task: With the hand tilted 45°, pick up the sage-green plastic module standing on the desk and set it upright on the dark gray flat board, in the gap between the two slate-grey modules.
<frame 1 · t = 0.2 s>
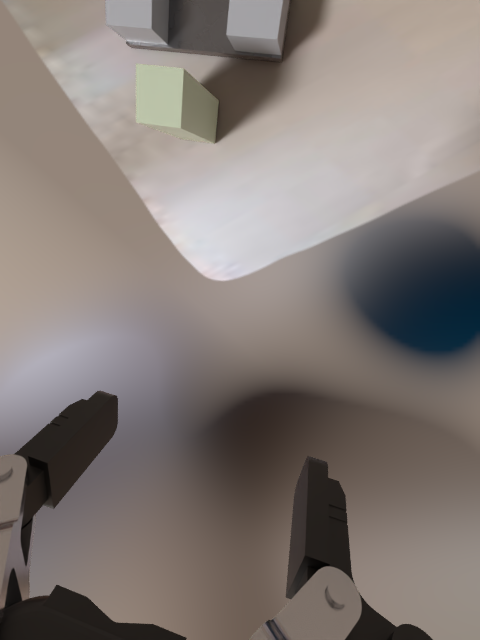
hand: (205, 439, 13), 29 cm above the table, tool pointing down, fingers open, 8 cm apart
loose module: (199, 120, 34), on the table
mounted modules: (197, 5, 29), on the dark gray flat board, point 3 cm above the table
dark gray flat board: (206, 19, 31), on the table
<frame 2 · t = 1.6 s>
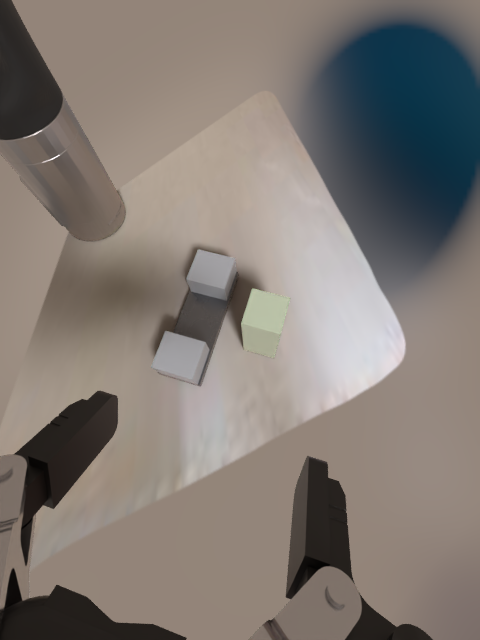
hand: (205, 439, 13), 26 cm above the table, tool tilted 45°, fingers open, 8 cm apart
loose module: (263, 339, 41), on the table
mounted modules: (197, 314, 39), on the dark gray flat board, point 3 cm above the table
dark gray flat board: (201, 322, 42), on the table
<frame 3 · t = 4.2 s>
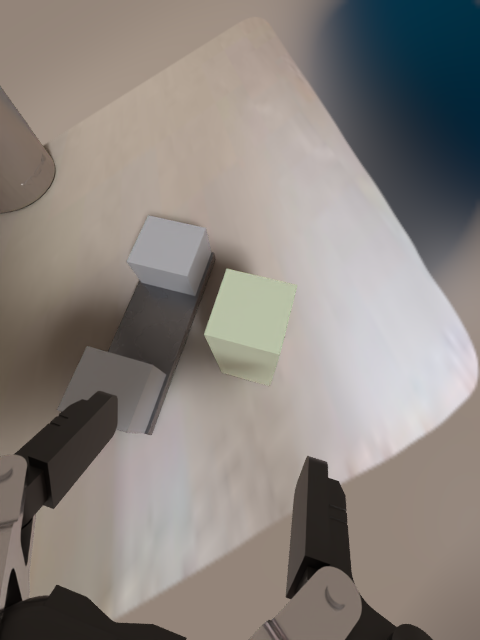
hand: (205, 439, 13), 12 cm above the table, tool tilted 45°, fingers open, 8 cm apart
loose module: (252, 355, 26), on the table
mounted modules: (146, 318, 25), on the dark gray flat board, point 3 cm above the table
dark gray flat board: (156, 329, 27), on the table
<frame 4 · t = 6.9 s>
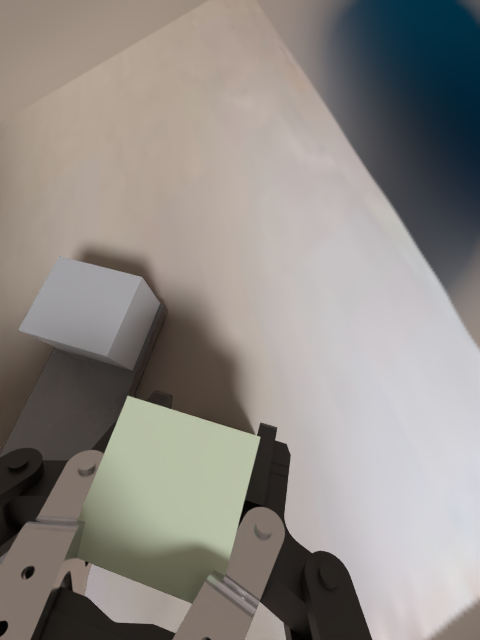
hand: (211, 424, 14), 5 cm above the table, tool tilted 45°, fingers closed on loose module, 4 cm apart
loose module: (212, 463, 18), on the table, touching gripper
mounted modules: (49, 415, 16), on the dark gray flat board, point 3 cm above the table
dark gray flat board: (77, 419, 19), on the table
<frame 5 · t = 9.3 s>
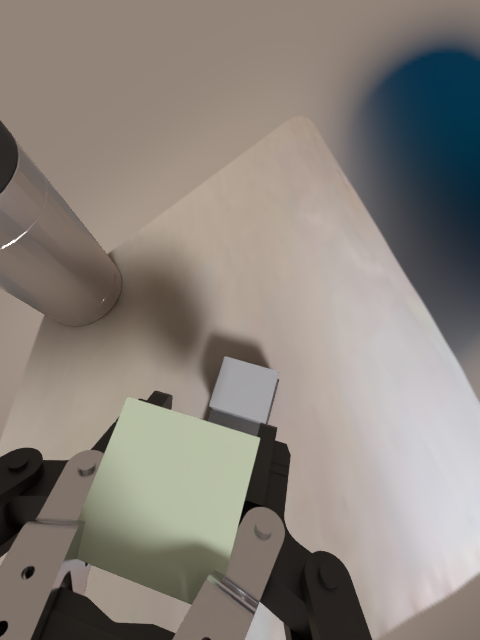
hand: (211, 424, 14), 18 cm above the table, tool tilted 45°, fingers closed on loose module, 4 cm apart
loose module: (212, 464, 18), point 13 cm above the table, touching gripper
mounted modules: (225, 456, 27), on the dark gray flat board, point 3 cm above the table
dark gray flat board: (228, 455, 30), on the table
when the fingers open (7 cm above the table, at t = 12.1 s): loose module drops 1 cm, resting on dark gray flat board.
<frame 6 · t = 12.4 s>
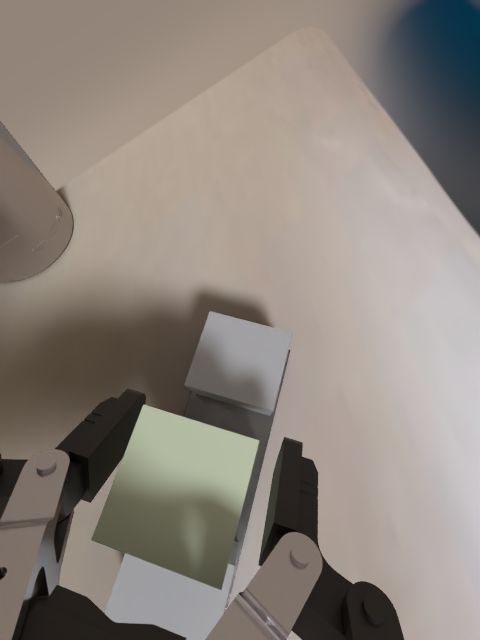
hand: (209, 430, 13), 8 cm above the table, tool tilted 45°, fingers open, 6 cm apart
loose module: (216, 464, 19), point 1 cm above the table, touching dark gray flat board
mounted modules: (211, 464, 17), on the dark gray flat board, point 3 cm above the table
dark gray flat board: (216, 460, 20), on the table
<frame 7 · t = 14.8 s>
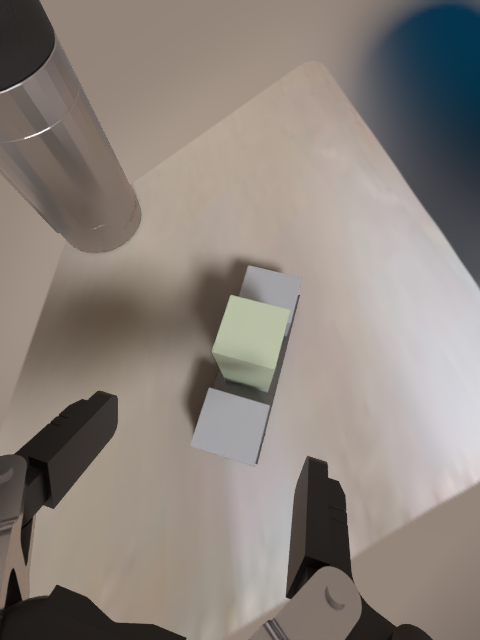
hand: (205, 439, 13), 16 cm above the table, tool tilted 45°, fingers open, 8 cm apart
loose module: (252, 365, 29), point 1 cm above the table, touching dark gray flat board
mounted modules: (251, 359, 28), on the dark gray flat board, point 3 cm above the table
dark gray flat board: (251, 366, 30), on the table
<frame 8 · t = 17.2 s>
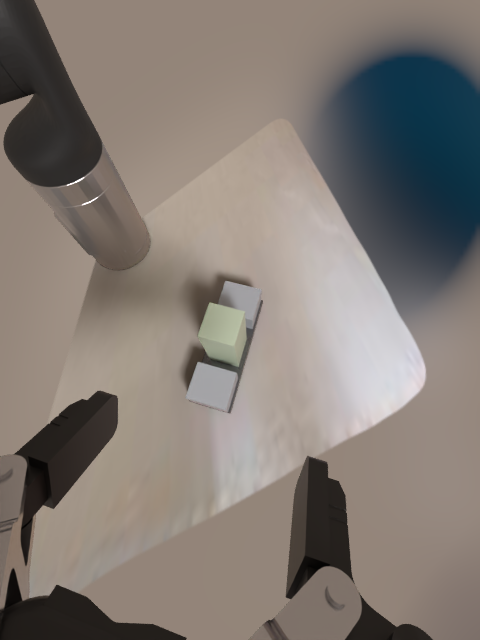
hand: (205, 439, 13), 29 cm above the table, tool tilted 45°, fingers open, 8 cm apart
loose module: (228, 348, 43), point 1 cm above the table, touching dark gray flat board
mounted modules: (226, 344, 41), on the dark gray flat board, point 3 cm above the table
dark gray flat board: (228, 350, 44), on the table
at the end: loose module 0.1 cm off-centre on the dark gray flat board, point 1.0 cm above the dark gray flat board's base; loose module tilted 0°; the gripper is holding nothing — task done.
